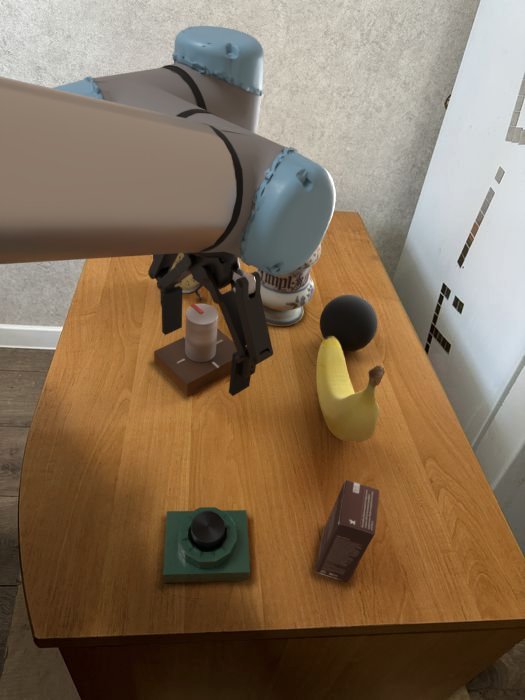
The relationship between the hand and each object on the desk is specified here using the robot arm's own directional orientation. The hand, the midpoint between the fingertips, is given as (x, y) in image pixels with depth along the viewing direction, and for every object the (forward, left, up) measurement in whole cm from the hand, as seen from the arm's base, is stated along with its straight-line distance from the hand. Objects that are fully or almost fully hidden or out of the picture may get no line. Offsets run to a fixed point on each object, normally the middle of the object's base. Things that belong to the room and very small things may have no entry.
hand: (203, 358), depth 68 cm
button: (-10, -15, -12) cm, 21 cm away
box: (+2, -26, -16) cm, 30 cm away
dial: (+9, +11, -12) cm, 19 cm away
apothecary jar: (+30, +14, -16) cm, 37 cm away
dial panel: (+9, +11, -15) cm, 21 cm away
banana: (+19, -10, -16) cm, 26 cm away
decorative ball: (+33, 0, -16) cm, 36 cm away
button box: (-10, -15, -15) cm, 24 cm away
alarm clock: (+19, +29, -16) cm, 38 cm away
